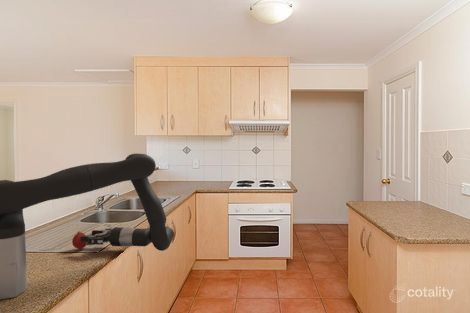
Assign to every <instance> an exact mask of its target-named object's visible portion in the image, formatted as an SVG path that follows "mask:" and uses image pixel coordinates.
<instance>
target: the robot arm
mask: <svg viewBox="0 0 470 313" xmlns="http://www.w3.org/2000/svg"><path fill="white" fill-rule="evenodd" d="M156 167H157V166H156V161H155V159H154V158H153V157H152V156H150V155H148V154H146V153H131V154H129V155H127V156H126V157H125V159H122V160H119V161H110V162H95V163H87V164H81V165H77V166H72V167H68V168H65V169H64V168H63V169H62V170H58V171H56V172H54V173H52V174H49V175H46V176H43V177H39V178H34V179H33V178H32V179H27V180H19V181H12V180H9V179H8V180H7V179H1V180H0V300H5V299H11V298H16V297H18V296H19V295H20V294H23V293H24V292H26V291H27V289H28V284H27V283H28V282H27V281H28V278H27V275H28V274H27V246H26V243H27V242H26V224H25V218H24V211H23V210H24V209H27V208H29V207H32V206H35V205H38V204H41V203H44V202H48V201H53V200H59V199H64V198H69V197H72V196H78V195H82V194H86V193H89V192H90V193H91V192H93V191H96V190H100V189H103V188H106V187H109V186H112V185H114V184H115V185H116V184H119V183H122V182H128V181H129V182H131V184H132V186H133V188H134V190H135V192H136V194H137V195H138V199H139V200H140V203H141V205H142V208H143V211H144V214H145V217H146V220H147V223H148V224H149V227H148V228H138V227H136V228H135V227H125V226H124V227H121V226H120V227H116V226H115V227H113V228H104V229H100V230H98V229H96V230H95V229H94V230H93V229H92V231H91V233H92V236H81V237H80V241H81V242H88V244H87V245H93V246H95V245H97V246H98V245H100V246H101V245H104V244H105V243H108V242H109V244H110V246H112V247H128V248H129V247H147V246H149V245H150V244H151V243H152V245H153V247H154V248H155V249H156V250H158V251H159V252H160V251H161V252H163V251H167V250H168V248H170V245H171V244H172V242H173V240H174V238H175V232H174V229H173V228H172V227H170V226H167V225H166V223H167V216H166V212H165V210H164V207H163V204H162V203H161V202H162V201H161V200H160V199H159V197H158V195H157V194H156V193H155V190H154V189H153V187H152V186H151V183H150V181H149V178H148V177H150V176H152V174H153V173H154V171H155V170H156ZM98 236H99V238H98ZM92 240H94V241H92Z"/></svg>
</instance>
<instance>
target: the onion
mask: <svg viewBox="0 0 470 313" xmlns="http://www.w3.org/2000/svg"><path fill="white" fill-rule="evenodd" d="M86 235H87V234H85V233H83V232H82V231H80V230H78V231H77V233H76V234H75V235H74V236H72V239H71V241H72V242H71V243H72V246H73V247H74V248H76V249H77V250H78V251H81V250H83V249H84V248H86V246H87V245H88V244H87V242H81V241H80V237H81V236H86Z"/></svg>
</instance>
